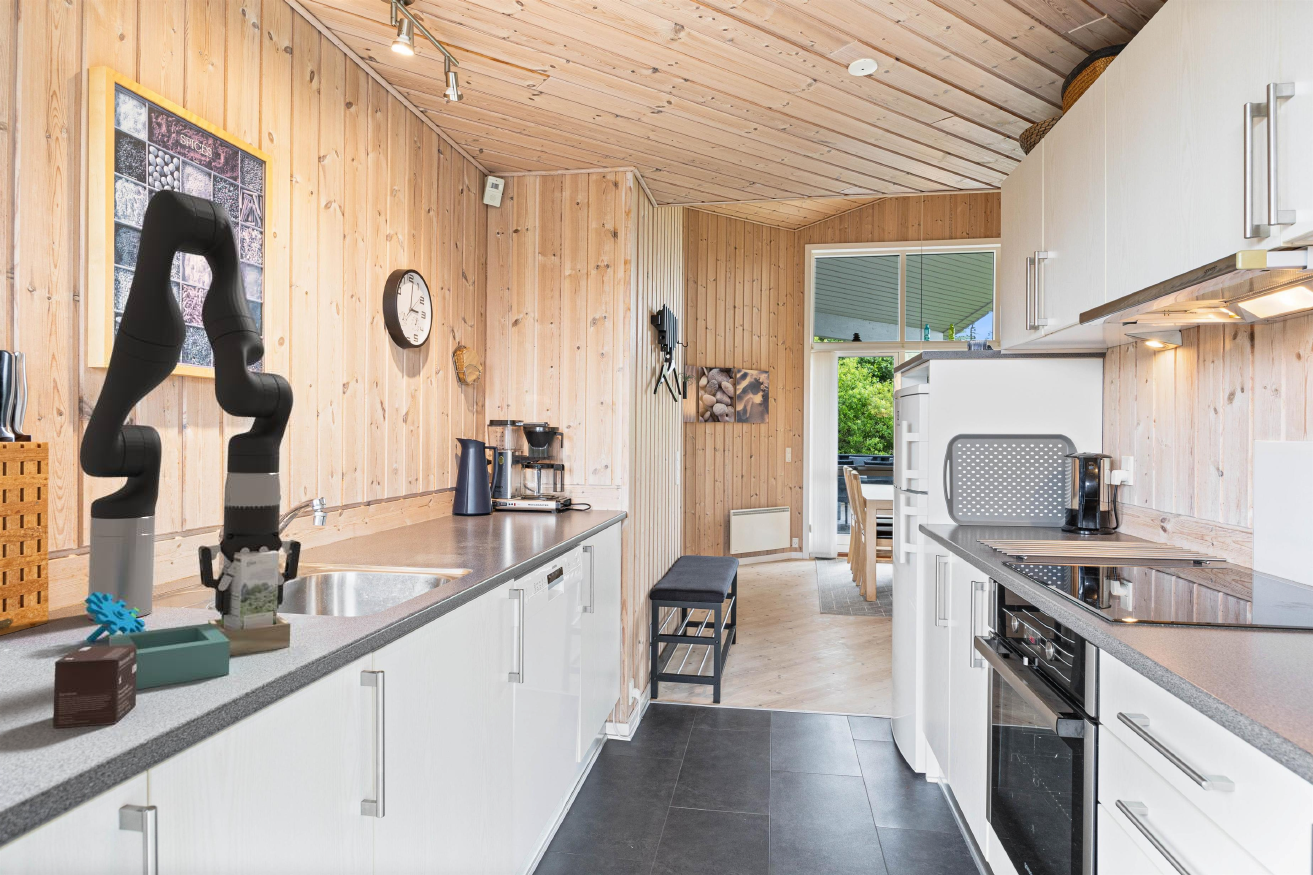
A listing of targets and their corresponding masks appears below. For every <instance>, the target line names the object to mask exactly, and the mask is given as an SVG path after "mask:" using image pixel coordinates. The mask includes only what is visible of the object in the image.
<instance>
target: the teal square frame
mask: <svg viewBox="0 0 1313 875" xmlns="http://www.w3.org/2000/svg"><path fill="white" fill-rule="evenodd" d="M121 645H137V653H136V655H137V664H136V667H137V668H136V691H137V690H142V689H147V688H148V689H150V688H155V687H161V686H167V685H172V684H178V683H179V684H180V683H184V682H185V683H186V682H191V681H197V680H203V679H209V678H216V677H221V676H227V675H230V657H231V656H230V640H229V639H227V638H226V637H225V636H224V635H223V634H222V633H221V632H220V631H219V630H218V629H216V628H215V627H214V626H213V625H212V624H211V623H208V622H207V623H201V624H200V623H199V624H192V625H185V626H176V627H168V628H161V629H160V628H159V629H151V630H146V631H142V632H134V633H126V634H123V633H120V634H119V633H118V634H114V635H110V634H109V637H108V646H121Z"/></svg>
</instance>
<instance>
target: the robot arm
mask: <svg viewBox="0 0 1313 875" xmlns="http://www.w3.org/2000/svg"><path fill="white" fill-rule="evenodd" d="M139 238H140V239H139V245H138V250H137V257H136V262H135V268H134V273H133V277H132V281H131V285H130V289H129V292H128V296H127V300H126V304H125V307H124V310H123V313H122V315H121V318H120V322H119V325H118V328H117V331H116V336H115V339H114V343H113V345H112V346H113V347H112V350H111V351H112V352H111V357H110V359H109V363H108V368H107V370H106V374H105V378H104V381H103V385H102V387H101V391H100V393H99V396H98V399H97V400H96V404H95V406H94V408H93V411H92V414H91V415H90V419H89V420H88V423H87V426H86V428H85V431H84V433H83V437H82V440H81V444H80V448H79V449H80V450H79V462H80V467H81V469H82V471H83V472H84V473H85V474H86V475H88V476H89V477H93V478H105V479H106V478H108V479H109V478H127V479H126V482H125V484H124V485H123V486H121V488H119V489H118V490H117V491H116V490H115V491H114V492H113V493H111V494H108V495H105V496H102V497H99V498H97V499H95V500H93V502H91V505H90V522H89V523H90V526H89V529H90V530H89V555H88V556H89V560H88V562H89V563H88V587H87V588H88V590H87V591H88V592H87V594H88V595H87V598H88V597H89V596H90V595H91V594H93V593H94V592H99V593H101V594H102V596H103V595H104V594H106V593H108V594H110V595H112V596H113V599H112V600H111V601H112V602H113V603H116V602H117V601H119V600H122V601H124V602H125V603H126V604H127V605H126V606H125V607H124V609H127V610H131V609H132V608H133V607H136V608H137V609H138V610H139V612H138V616H136V618H137V617H143V616H147V615H148V614H151V613H152V612H153V595H154V594H153V592H154V570H155V569H154V561H155V531H156V530H155V529H156V528H155V526H156V506H157V502H158V498H159V490H160V488H159V487H160V477H161V476H160V474H161V464H162V453H163V452H162V451H163V450H162V449H163V448H162V440H161V437H160V434H159V432H158V430H157V429H156V428H155V427H153V426H151V425H146V424H145V425H143V424H125V421H126V420H127V418H128V416H129V415H130V413H131V411H132V410H133V409H134V407H135V406H136V405H137V404H138V403H139V402H140V401H141V400H143V398H144V397H146V396H147V395H148V394H150V393H151V392H152V391H153V390H154V389H157V387H158V386H159V385H160V384H162V383H163V382H164V381H165V380H166V379H167V378H168V377H169V376H170V375H171V374H172V373H173V372H174V370H175V369H176V367H177V366H178V365H177V364H178V363H179V359H180V356H181V353H182V350H183V347H184V344H185V341H186V337H187V327H186V322H185V319H184V316H183V312H182V311H181V308H180V305H179V303H178V301H177V298H176V295H175V293H174V290H173V287H172V286H173V285H172V283H171V282H172V279H171V276H172V275H171V274H172V269H173V268H172V267H173V263H174V258H175V256H176V254H177V252H178V253H183V254H190V255H192V256H193V255H195V256H199V257H200V256H201V257H203V258H204V259H205V260H206V263H207V264H208V266H209V269H210V272H211V281H210V285H209V287H208V289H207V292H206V295H205V297H204V301H203V302H202V306H201V307H202V308H201V320H202V325H203V329H204V332H205V334H206V337H207V339H208V340H207V341H208V342H209V345H210V348H211V351H212V354H213V362H214V366H213V367H214V368H213V370H214V396H215V398H216V402H217V403H218V405H219V407H221V410H223V411H224V412H226V413H227V415H230V416H232V417H236V418H254V420H253V423H252V426H251V428H250V430H248V431H246V432H241V433H237V434H234V435H232V436H231V437H230V438H229V439H228V440H229V441H228V444H227V460H226V461H227V466H226V468H227V469H226V470H227V471H226V472H227V473H226V480H225V484H224V499H223V503H224V504H223V532H222V533H223V534H222V535H223V536H222V538H221V542H220V543H219V544H215V545H213V544H212V545H207V546H206V545H201V546H199V547H198V553H197V554H198V563H199V574H200V575H199V576H200V583H201V585H203V586H204V587H205V588H210V589H214V590H215V592H214V593H215V598H214V600H215V601H214V604H215V605H214V608H215V610H216V611H217V613H219V614H220V615H221V616H223V615H228V601H229V590H227V587H228V585H229V583H230V582H231V580H232V578H233V577H234V576H235V569H234V567H235V566H236V558H235V559H234V555H235V552H238V553H249V552H251V551H259V552H269V551H270V550H275V551H277V552H278V553H279V551H280V550H281V548H282V549H283V551H282V552H283V553H284V554H285V555H286V558H285V565H284V572H281V571H280V570H279V573H278V595H277V610H278V609H279V606H282V604H283V602H284V585H285V584H286V583H287V582H289V581H291V580H296V578H297V576H298V570H299V563H300V562H299V561H300V557H301V556H300V554H301V547H302V544H301V542H300V541H298V540H295V539H290V540H282V539H281V537H280V512H281V511H280V510H281V508H280V507H281V500H282V495H281V483H280V482H281V481H280V473H279V472H280V458H281V457H280V454H281V453H280V447H281V444H282V441H283V438H284V434H285V433H286V429H287V425H288V422H289V420H290V415H291V413H292V410H293V404H294V395H293V394H294V393H293V392H294V391H293V388H292V386H291V384H290V383H289V381H288V380H287V378H285V376H282V375H280V374H277V373H271V372H270V373H269V372H260V371H250V369H249V368H248V367H249V366H253V365H255V364H256V363H258V362H260V360H262V359H263V357H264V354H265V346H264V343H263V340H262V337H261V334H260V332H259V330H258V329H259V328H258V326H257V324H256V322H255V319H254V316H253V314H252V312H251V308H250V305H249V302H248V298H247V294H246V289H245V285H244V284H245V283H244V279H243V278H244V277H243V271H242V266H241V259H240V255H239V254H240V253H239V249H238V244H237V243H238V242H237V239H236V232H235V229H234V225H233V222H232V219H231V216H230V214H229V213H228V210H227V209H226V208H225V207H224V206H223V205H222V204H220V203H218V202H216V201H213V200H211V199H208V198H204V197H200V196H196V195H193V194H188V193H186V192H185V193H184V192H181V191H177V190H173V189H168V188H167V189H166V188H164V189H160V190H158V191H156V192H155V193H154V194H153V195H152V197H150V200H149V201H148V204H147V206H146V210H145V213H144V217H143V222H142V228H141V233H140V237H139ZM219 553H221V554H222V555H223V557H224V556H225V557H226V558H227V560H229V561H230V562H231V563H232V564H231V565H230V567H229V568H227V567H226V565H225V566H224V567H222V569H221V571H220V574H219V575H218V577H217V579H216V578H214V568H213V561H214V560H216V559H217V557H218V556H217V555H218V554H219ZM87 606H89V604H87ZM96 616H97V615H95V614H91V613H88V612H87V618H88V619H89V620H93V621H94V618H95V617H96Z"/></svg>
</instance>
